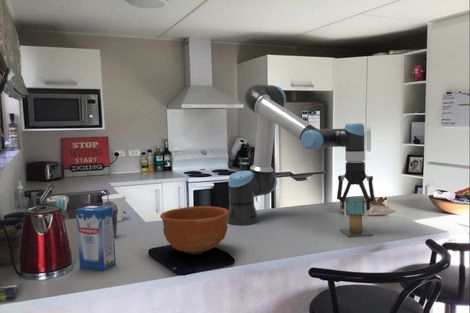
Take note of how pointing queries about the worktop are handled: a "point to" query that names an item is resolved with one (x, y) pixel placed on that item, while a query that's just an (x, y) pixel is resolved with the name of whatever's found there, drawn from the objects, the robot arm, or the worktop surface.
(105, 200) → the cup
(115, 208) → the grey bottle
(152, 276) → the worktop surface
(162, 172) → the worktop surface
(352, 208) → the cap
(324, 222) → the worktop surface
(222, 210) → the bowl
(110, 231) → the milk carton
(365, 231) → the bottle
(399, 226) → the worktop surface
